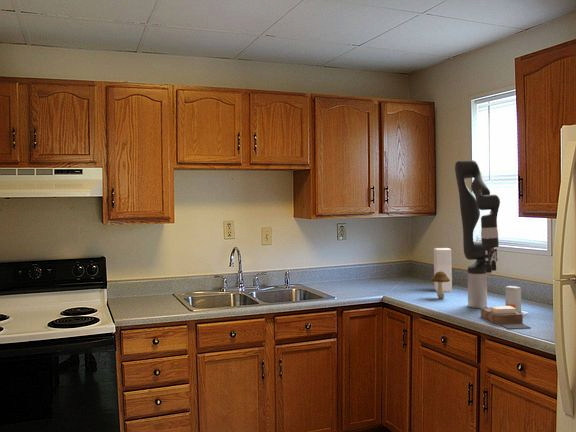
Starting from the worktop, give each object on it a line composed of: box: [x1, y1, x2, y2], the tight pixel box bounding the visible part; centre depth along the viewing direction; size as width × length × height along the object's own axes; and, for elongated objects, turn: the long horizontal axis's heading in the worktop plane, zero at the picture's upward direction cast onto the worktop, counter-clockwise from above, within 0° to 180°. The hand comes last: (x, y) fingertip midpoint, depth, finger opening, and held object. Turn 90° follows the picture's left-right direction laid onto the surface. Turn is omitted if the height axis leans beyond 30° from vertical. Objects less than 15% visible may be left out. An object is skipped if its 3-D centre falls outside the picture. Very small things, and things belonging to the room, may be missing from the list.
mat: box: [498, 323, 531, 330], centre depth 238 cm, size 8×10×1 cm
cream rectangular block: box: [489, 305, 516, 314], centre depth 248 cm, size 6×9×2 cm, turn 94°
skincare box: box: [504, 285, 522, 313], centre depth 267 cm, size 6×4×12 cm
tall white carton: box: [433, 247, 453, 293], centre depth 328 cm, size 9×9×25 cm
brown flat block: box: [480, 307, 524, 325], centre depth 250 cm, size 16×12×4 cm
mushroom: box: [429, 272, 450, 300], centre depth 303 cm, size 9×11×15 cm
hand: (491, 271), depth 259 cm, fingers open, 8 cm apart
